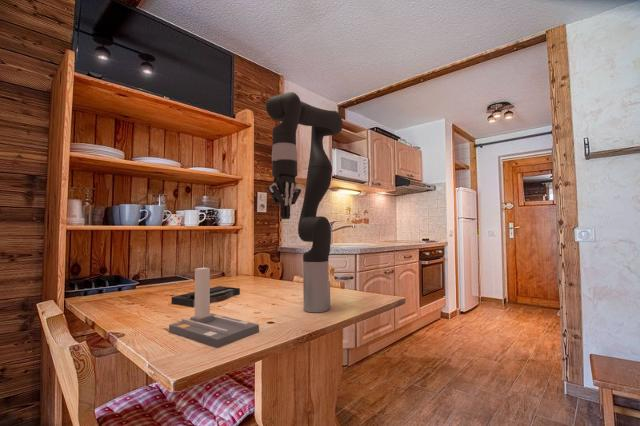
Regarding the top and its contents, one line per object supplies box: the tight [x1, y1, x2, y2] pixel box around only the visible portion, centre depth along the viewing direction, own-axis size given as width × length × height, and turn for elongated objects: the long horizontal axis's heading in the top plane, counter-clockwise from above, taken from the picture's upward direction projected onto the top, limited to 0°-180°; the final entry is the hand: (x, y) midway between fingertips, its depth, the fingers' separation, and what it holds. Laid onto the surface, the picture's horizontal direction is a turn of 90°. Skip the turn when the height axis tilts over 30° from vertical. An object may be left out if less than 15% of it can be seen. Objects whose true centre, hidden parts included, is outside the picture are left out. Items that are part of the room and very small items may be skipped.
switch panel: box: [168, 312, 260, 349], centre depth 88 cm, size 14×22×3 cm, turn 55°
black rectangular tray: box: [170, 285, 241, 308], centre depth 129 cm, size 25×4×20 cm
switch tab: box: [190, 267, 214, 323], centre depth 91 cm, size 5×4×16 cm
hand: (285, 218), depth 91 cm, fingers closed
